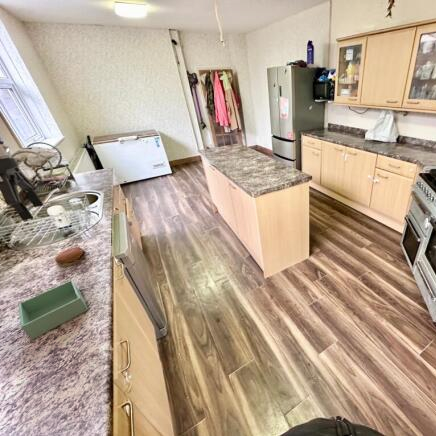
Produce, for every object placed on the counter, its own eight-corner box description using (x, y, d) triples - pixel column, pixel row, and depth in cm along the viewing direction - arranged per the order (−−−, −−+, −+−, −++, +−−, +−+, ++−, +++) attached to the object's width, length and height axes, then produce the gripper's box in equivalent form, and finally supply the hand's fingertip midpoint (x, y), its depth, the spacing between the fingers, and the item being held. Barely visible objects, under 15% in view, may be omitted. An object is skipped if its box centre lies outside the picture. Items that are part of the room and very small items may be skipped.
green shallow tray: (28, 315, 76) (18, 303, 74) (79, 290, 85) (72, 279, 82) (32, 339, 68) (20, 327, 66) (88, 309, 77) (80, 298, 74)
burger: (53, 269, 97) (46, 260, 95) (67, 255, 105) (62, 247, 103) (79, 265, 98) (73, 256, 96) (91, 252, 106) (86, 244, 104)
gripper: (-4, 163, 73) (37, 221, 83) (24, 150, 92) (54, 199, 102) (-39, 168, 69) (8, 228, 80) (-3, 153, 88) (31, 204, 99)
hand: (34, 212), depth 91 cm, fingers open, 13 cm apart
